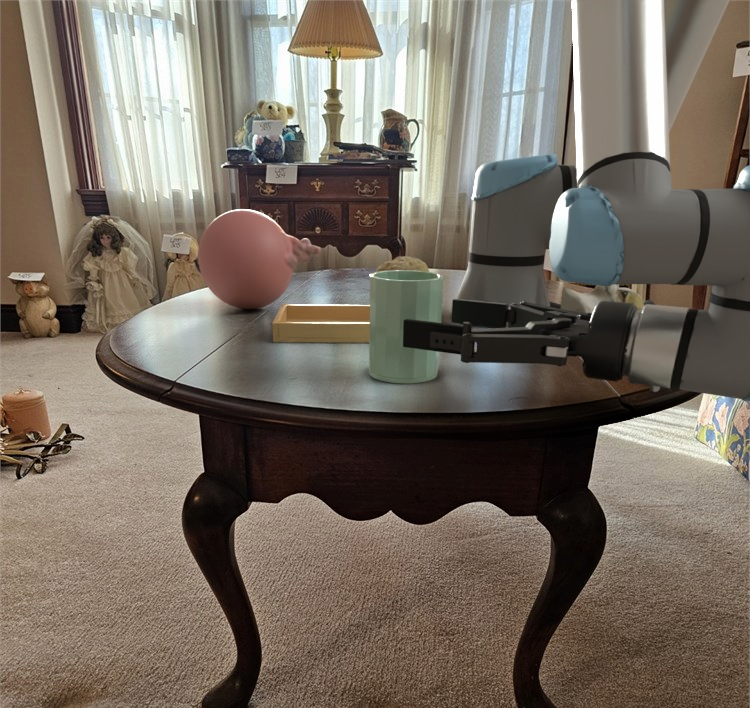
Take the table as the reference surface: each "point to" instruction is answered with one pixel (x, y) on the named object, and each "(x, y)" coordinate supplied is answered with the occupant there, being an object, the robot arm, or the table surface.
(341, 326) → the tray
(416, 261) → the coral
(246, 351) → the table surface
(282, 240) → the balloon
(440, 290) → the cup
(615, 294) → the ceramic sculpture
